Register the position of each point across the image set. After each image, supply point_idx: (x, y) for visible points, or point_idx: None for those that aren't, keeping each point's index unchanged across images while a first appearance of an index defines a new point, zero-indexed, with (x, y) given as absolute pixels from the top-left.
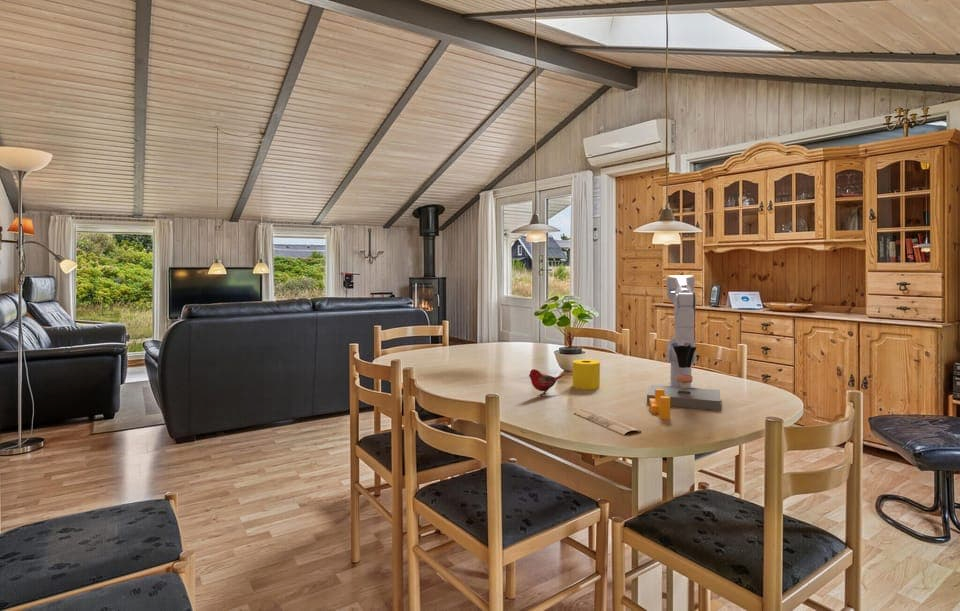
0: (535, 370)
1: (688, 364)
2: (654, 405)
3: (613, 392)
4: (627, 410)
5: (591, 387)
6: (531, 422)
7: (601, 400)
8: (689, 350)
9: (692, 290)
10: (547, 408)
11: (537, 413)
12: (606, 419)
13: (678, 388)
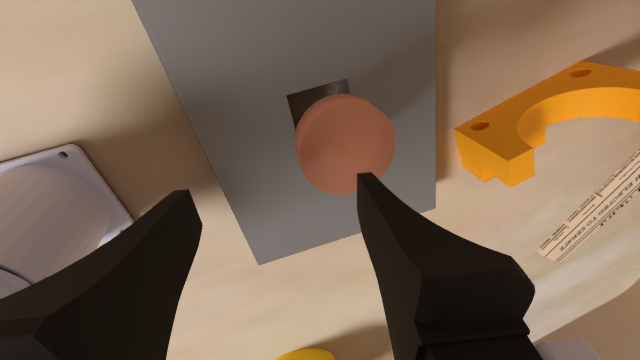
0: None
1: (184, 213)
2: (536, 140)
3: (325, 308)
4: (508, 197)
5: (325, 355)
6: (622, 273)
7: None
8: (468, 252)
9: None
10: (529, 306)
11: (566, 297)
12: (636, 186)
13: (256, 165)
